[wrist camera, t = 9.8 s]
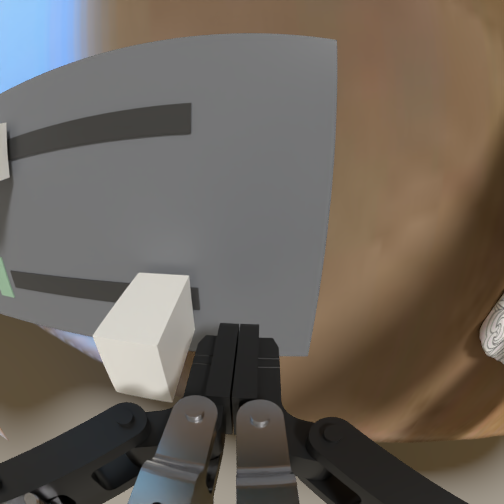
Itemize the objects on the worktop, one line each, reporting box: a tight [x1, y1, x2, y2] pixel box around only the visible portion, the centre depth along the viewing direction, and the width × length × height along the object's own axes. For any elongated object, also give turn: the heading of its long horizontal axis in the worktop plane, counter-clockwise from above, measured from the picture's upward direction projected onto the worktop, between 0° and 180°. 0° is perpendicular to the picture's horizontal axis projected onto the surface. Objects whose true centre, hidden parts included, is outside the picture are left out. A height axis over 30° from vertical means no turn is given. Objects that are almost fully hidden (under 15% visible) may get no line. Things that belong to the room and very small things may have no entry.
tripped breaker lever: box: [93, 273, 195, 403], centre depth 11 cm, size 2×3×4 cm
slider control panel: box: [0, 33, 337, 356], centre depth 13 cm, size 24×15×3 cm, turn 89°
